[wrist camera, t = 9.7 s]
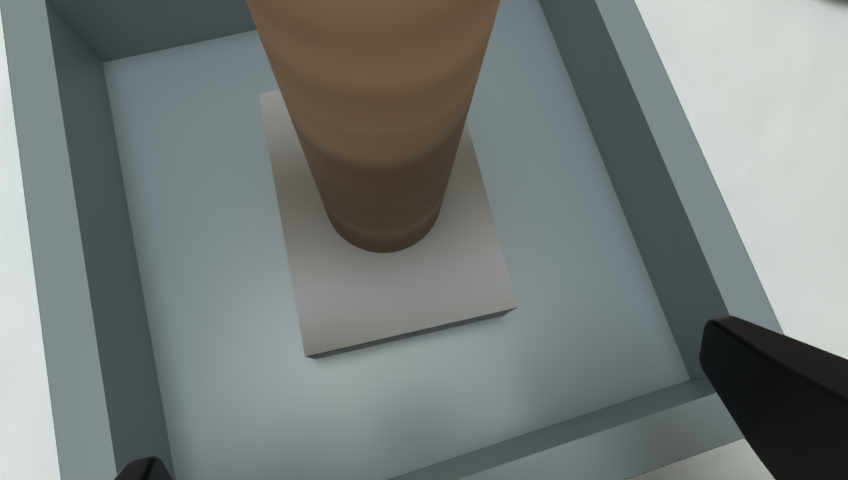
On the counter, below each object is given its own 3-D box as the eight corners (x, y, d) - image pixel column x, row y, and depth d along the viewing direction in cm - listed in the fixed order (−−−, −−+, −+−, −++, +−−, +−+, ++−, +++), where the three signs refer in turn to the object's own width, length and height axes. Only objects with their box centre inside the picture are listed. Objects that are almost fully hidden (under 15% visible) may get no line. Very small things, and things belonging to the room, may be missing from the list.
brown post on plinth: (503, 315, 17) (1131, -47, 3) (315, 359, 16) (-256, 195, 2) (443, 92, 19) (615, -841, 4) (272, 123, 18) (-180, -859, 4)
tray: (724, 405, 18) (818, 411, 14) (162, 595, 15) (85, 668, 11) (540, -44, 22) (573, -136, 18) (74, 53, 19) (-5, -28, 16)
